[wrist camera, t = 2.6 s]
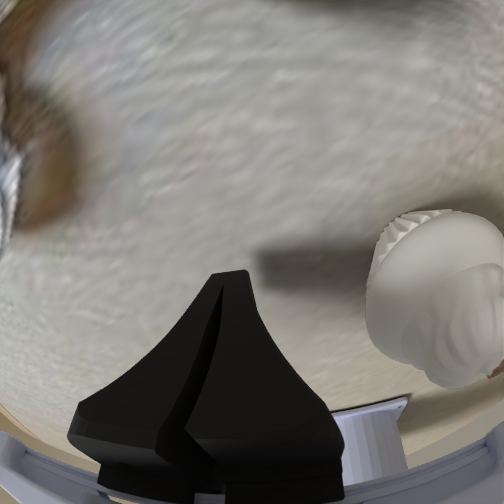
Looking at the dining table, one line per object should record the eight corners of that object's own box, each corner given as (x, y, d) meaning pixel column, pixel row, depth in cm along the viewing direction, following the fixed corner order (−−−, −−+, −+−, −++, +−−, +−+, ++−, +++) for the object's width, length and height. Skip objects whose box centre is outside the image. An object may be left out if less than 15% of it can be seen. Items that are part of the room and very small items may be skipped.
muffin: (479, 202, 10) (579, 297, 4) (423, 305, 13) (478, 416, 7) (372, 156, 9) (504, 268, 3) (320, 289, 13) (354, 439, 7)
